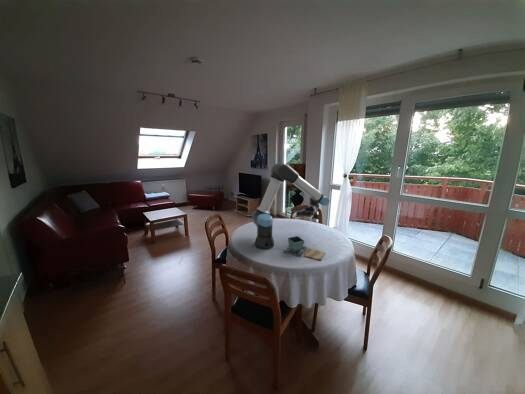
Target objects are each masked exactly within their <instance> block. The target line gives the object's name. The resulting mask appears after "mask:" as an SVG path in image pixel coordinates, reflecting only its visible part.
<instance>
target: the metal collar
mask: <svg viewBox="0 0 525 394" xmlns="http://www.w3.org/2000/svg"><path fill="white" fill-rule="evenodd" d="M289 249H290V247H289V244H288V245H287V246H286V247H284V249H283V253H286V254H290V255H293V256H298V257H300V258H301V257H302V256H304V254H305V253H306V251H307V250H308V247H307V246H305V245H303V248H302V249H303V250H302V249H301V251H300V253H299V252H293V251H292V250H289Z"/></svg>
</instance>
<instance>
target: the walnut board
mask: <svg viewBox="0 0 525 394" xmlns="http://www.w3.org/2000/svg"><path fill="white" fill-rule="evenodd" d="M325 255H326V252H325V251H321V250H318V249H314V248H309V247H308V248H307V250H306V251H305V252H304V253H303V257H306V258H309V259H312V260H317V261H319V262H321V261H322V259H323V257H324V256H325Z"/></svg>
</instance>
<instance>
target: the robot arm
mask: <svg viewBox="0 0 525 394" xmlns="http://www.w3.org/2000/svg"><path fill="white" fill-rule="evenodd" d="M270 170H271V171H270V172H271V174H270V175H269V178H270V181H269V183H268V186H267V188H266V190H265V193H264V194H263V198H262V200H261V203H260V205H259V206H257V207H256V209H255V210H254V212H252V215H251V219H252V222H253V224H255V226H256V228H257V229H256V238H255V240H254V246H255V248H257V249H259V250H270V249H271V248H274V246H275V240H274V237H273V222H274V220H273V216H272V215H271V212H270V210H271V208H272V206H273V202H274V200H275V199H276V196H277V193H278V191H279V189H280V187H281V184H283V183H284V181H285V182H287V183H288V184H291V185H294V186H295V187H296V188H297V189H299V190H301V191H302V192H304V194H305V195H307V196H308V197H309V205H308V206H306V207H305V208H304V210H302V209H297V210H293V211H292V219H294V218H296V217H297V216H301V215H302V216H307V217H309V222H312V220H315V219H318V217H319V216H318V213H317V211H318V210H319V209H320V205H321V206H324V207H326V206H328V205H329V204H330V202H331V201H330V200H331V199H330V198H329V197H328V196H326V195H324V194H323V193H322V192H320V190H319V189H316V188H315V187H314V186H312V185H311V184H310V183H309V182H307V181H306V180H305V179H303V178H302V177H301V176H300V175H299V172H297V171H296V170H294V168H293V167H291V166H290V165H288V164H286V163H282V162H277V163H275V164H273V165H272V167H271V169H270Z"/></svg>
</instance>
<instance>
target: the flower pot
mask: <svg viewBox="0 0 525 394" xmlns="http://www.w3.org/2000/svg"><path fill="white" fill-rule="evenodd" d="M287 241H288V245H289V249H290V251H292V252H296V253H299V252H301V251H302V248H303V246H304V244H305V240H304V239H302V238H301V237H300V236H298V235H295V236H291V237H288V238H287Z"/></svg>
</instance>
